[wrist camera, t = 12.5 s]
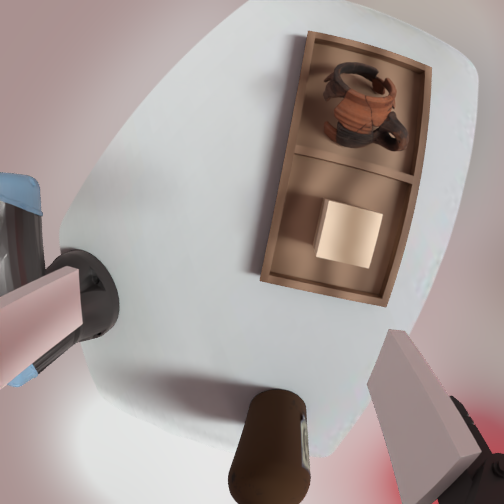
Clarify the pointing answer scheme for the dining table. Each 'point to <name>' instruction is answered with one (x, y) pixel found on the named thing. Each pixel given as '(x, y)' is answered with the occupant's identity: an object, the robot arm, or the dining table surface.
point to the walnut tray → (347, 174)
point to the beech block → (346, 233)
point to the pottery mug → (364, 111)
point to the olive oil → (272, 452)
